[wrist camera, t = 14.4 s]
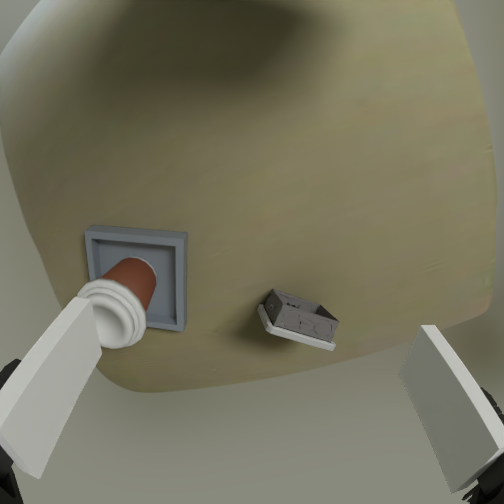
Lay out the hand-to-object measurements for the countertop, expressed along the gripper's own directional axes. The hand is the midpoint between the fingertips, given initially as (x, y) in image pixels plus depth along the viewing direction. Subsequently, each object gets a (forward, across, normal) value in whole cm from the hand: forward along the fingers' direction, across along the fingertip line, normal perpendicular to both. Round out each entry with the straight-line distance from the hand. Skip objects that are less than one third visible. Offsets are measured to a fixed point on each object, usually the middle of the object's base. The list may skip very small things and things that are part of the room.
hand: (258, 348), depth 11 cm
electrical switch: (+29, +7, -15) cm, 33 cm away
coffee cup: (+28, -15, -13) cm, 35 cm away
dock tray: (+29, -15, -13) cm, 35 cm away
